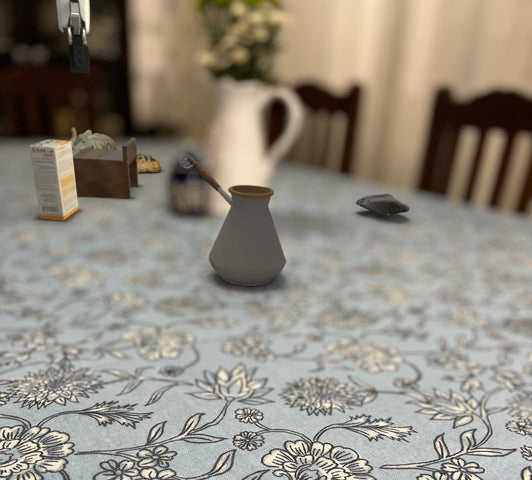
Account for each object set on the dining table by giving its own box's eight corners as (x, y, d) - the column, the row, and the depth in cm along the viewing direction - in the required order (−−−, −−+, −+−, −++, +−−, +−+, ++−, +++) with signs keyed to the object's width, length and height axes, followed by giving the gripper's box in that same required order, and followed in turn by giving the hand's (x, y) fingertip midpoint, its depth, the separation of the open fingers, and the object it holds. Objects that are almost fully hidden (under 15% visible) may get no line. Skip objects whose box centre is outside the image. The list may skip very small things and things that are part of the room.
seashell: (390, 225, 111) (419, 214, 116) (389, 198, 108) (419, 188, 113) (350, 220, 120) (379, 210, 125) (349, 196, 117) (378, 186, 122)
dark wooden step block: (74, 195, 114) (68, 142, 109) (88, 182, 126) (83, 134, 121) (129, 198, 115) (126, 146, 110) (138, 185, 127) (136, 137, 122)
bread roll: (147, 164, 152) (147, 146, 149) (168, 176, 146) (169, 158, 143) (113, 167, 146) (112, 149, 143) (133, 181, 140) (133, 162, 137)
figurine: (70, 190, 132) (47, 129, 124) (116, 172, 140) (98, 113, 131) (90, 195, 127) (68, 131, 118) (137, 176, 135) (119, 114, 126)
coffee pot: (300, 281, 78) (311, 178, 71) (241, 297, 71) (247, 185, 64) (214, 243, 91) (216, 153, 84) (157, 254, 84) (154, 157, 77)
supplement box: (55, 208, 104) (46, 138, 98) (79, 210, 104) (72, 140, 98) (38, 219, 97) (27, 144, 90) (64, 221, 97) (55, 146, 90)
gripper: (47, -43, 90) (59, 68, 99) (42, -60, 76) (56, 72, 85) (92, -37, 93) (100, 71, 101) (95, -53, 78) (104, 75, 87)
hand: (80, 71), depth 93 cm, fingers open, 9 cm apart
